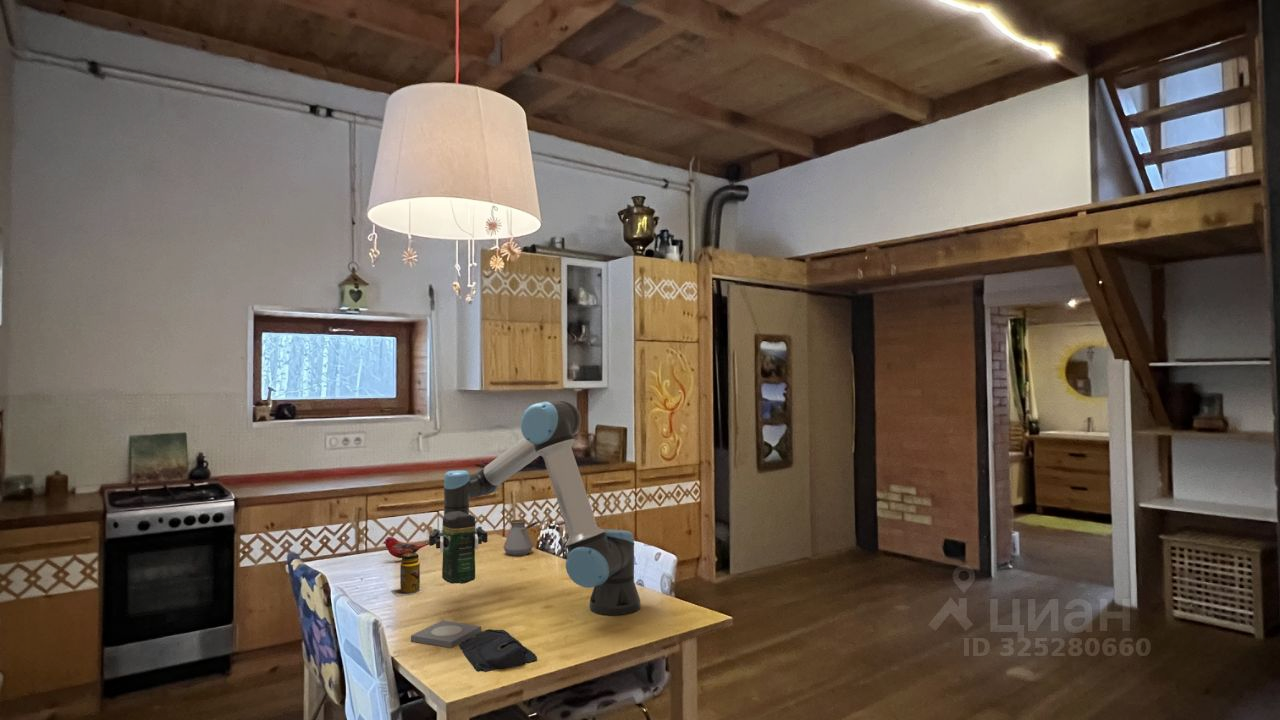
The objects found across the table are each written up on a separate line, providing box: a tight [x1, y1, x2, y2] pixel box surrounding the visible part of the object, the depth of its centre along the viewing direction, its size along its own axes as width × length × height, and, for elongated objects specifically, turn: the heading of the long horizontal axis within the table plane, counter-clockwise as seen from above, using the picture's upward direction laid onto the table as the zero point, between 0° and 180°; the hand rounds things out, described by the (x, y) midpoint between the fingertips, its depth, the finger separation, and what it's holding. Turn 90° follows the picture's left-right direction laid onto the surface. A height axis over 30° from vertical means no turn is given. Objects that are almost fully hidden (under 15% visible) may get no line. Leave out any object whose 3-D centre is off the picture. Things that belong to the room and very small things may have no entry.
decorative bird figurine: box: [382, 536, 430, 563], centre depth 277 cm, size 3×18×10 cm, turn 115°
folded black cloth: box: [458, 628, 538, 673], centre depth 184 cm, size 15×22×5 cm
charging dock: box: [410, 620, 482, 649], centre depth 196 cm, size 13×13×2 cm
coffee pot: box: [503, 519, 542, 557], centre depth 285 cm, size 21×12×15 cm, turn 40°
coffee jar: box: [441, 511, 477, 585], centre depth 200 cm, size 10×8×19 cm
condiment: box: [391, 552, 424, 597], centre depth 238 cm, size 7×8×12 cm
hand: (459, 545), depth 196 cm, fingers closed on coffee jar, 8 cm apart
